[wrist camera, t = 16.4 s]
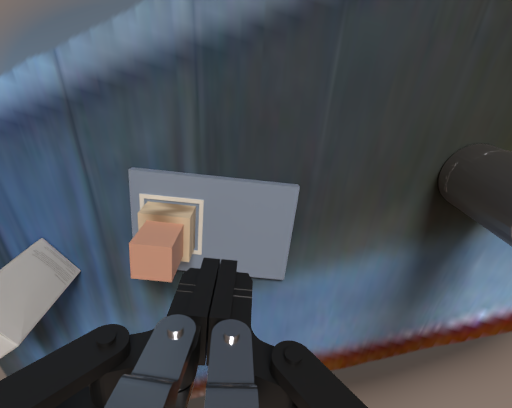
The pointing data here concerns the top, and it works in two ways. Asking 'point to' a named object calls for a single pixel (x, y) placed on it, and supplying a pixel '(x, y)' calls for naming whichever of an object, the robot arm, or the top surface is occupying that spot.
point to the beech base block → (172, 221)
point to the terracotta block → (156, 251)
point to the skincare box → (30, 290)
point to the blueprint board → (226, 216)
